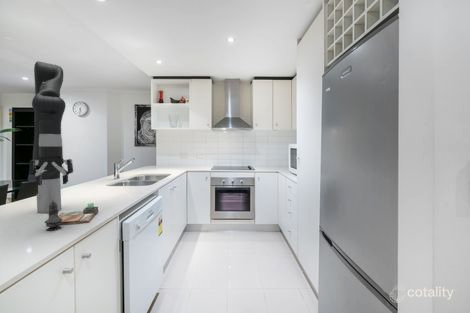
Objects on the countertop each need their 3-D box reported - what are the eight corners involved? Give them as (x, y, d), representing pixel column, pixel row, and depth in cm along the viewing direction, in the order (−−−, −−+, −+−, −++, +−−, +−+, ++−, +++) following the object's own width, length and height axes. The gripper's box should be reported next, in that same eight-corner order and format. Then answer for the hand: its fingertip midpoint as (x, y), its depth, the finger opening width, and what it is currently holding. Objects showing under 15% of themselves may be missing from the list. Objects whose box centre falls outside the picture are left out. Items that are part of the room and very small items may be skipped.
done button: (87, 210, 115) (86, 204, 115) (88, 209, 118) (88, 203, 118) (93, 210, 116) (92, 204, 116) (94, 208, 119) (94, 203, 118)
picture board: (46, 226, 99) (46, 219, 99) (62, 214, 116) (61, 208, 116) (89, 222, 105) (89, 216, 105) (98, 211, 122) (98, 205, 122)
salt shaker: (43, 232, 93) (42, 203, 92) (47, 227, 98) (45, 199, 98) (61, 230, 96) (60, 201, 95) (63, 225, 101) (63, 198, 100)
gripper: (74, 145, 101) (75, 182, 102) (34, 145, 96) (35, 183, 97) (68, 145, 94) (69, 185, 95) (24, 145, 89) (26, 187, 90)
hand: (52, 184), depth 96 cm, fingers open, 8 cm apart
